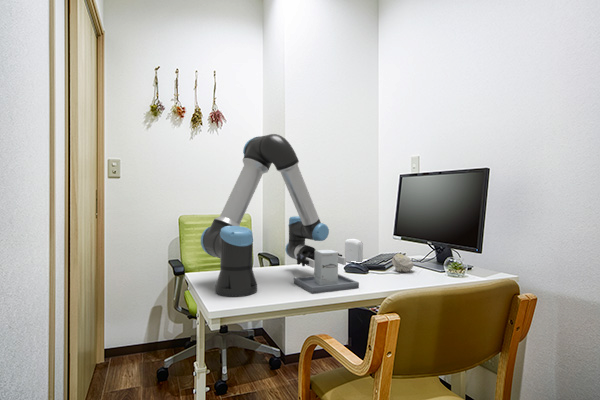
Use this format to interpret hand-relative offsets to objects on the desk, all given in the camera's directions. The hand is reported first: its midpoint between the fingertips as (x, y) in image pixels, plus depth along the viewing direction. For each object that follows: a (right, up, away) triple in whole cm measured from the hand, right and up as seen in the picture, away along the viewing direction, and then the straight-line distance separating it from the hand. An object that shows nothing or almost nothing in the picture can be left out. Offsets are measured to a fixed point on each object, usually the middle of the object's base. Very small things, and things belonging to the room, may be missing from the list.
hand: (329, 262), depth 144 cm
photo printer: (+16, -9, +51) cm, 54 cm away
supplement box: (-1, -9, +3) cm, 9 cm away
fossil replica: (+36, -9, +31) cm, 49 cm away
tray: (-1, -9, +3) cm, 10 cm away
